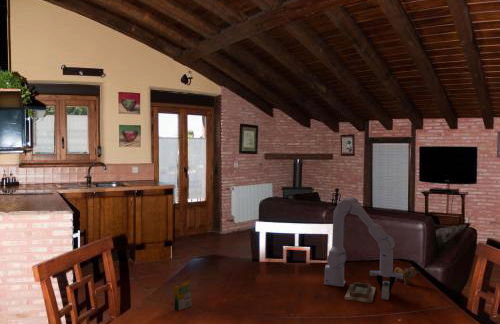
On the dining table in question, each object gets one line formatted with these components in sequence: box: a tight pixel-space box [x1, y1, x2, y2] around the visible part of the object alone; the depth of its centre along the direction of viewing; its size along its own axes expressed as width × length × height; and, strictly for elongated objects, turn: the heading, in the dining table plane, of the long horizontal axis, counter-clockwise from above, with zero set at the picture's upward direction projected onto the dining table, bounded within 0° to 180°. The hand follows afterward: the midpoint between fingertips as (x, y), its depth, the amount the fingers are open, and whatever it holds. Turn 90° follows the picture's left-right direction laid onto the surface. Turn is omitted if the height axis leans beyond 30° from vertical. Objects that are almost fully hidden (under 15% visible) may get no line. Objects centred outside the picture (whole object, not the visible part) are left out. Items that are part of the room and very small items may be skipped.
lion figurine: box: [393, 266, 418, 286], centre depth 215 cm, size 15×5×9 cm, turn 35°
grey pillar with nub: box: [381, 280, 390, 301], centre depth 196 cm, size 3×10×6 cm, turn 159°
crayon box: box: [173, 279, 192, 312], centre depth 180 cm, size 7×3×12 cm, turn 141°
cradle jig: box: [344, 281, 377, 304], centre depth 197 cm, size 12×18×3 cm, turn 159°
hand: (385, 292), depth 196 cm, fingers closed on grey pillar with nub, 3 cm apart
